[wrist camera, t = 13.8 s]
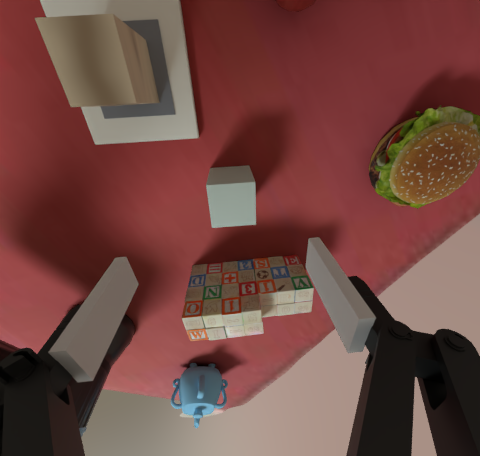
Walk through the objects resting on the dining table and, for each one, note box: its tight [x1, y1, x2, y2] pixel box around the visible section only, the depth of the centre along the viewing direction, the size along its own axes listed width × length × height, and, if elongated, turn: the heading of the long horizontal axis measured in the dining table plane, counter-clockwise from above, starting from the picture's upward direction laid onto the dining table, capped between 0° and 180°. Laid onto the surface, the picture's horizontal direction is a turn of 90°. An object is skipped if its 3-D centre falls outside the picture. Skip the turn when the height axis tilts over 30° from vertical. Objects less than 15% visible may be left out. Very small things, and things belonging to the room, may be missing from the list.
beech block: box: [35, 14, 160, 107], centre depth 21 cm, size 6×6×8 cm
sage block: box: [206, 165, 256, 228], centre depth 30 cm, size 6×6×8 cm
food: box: [369, 105, 480, 209], centre depth 30 cm, size 14×14×8 cm
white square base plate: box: [40, 0, 199, 145], centre depth 25 cm, size 14×15×1 cm
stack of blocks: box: [182, 255, 314, 341], centre depth 38 cm, size 21×6×12 cm, turn 95°
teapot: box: [171, 363, 228, 428], centre depth 58 cm, size 13×14×11 cm
